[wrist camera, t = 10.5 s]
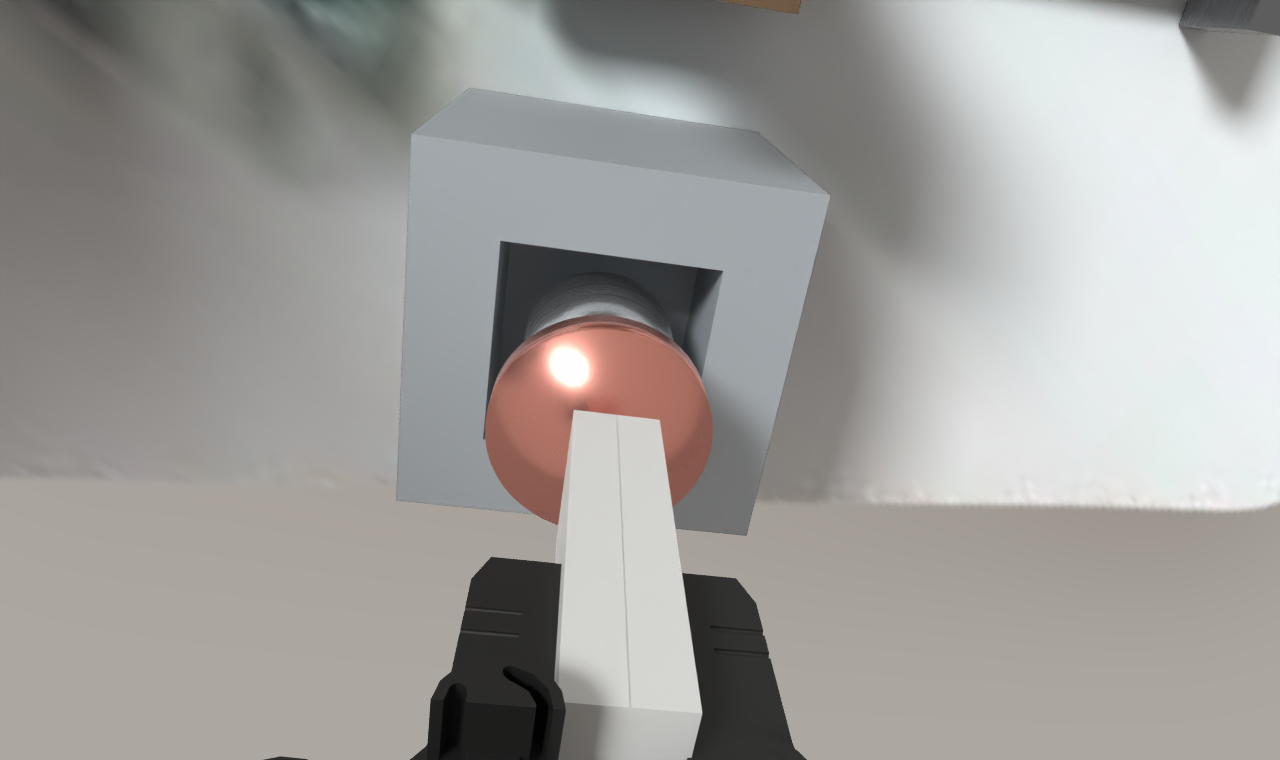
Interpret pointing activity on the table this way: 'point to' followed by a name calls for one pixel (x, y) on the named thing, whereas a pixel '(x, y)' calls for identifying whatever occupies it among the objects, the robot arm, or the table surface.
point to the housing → (597, 242)
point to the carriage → (770, 4)
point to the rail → (1233, 16)
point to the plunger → (593, 387)
